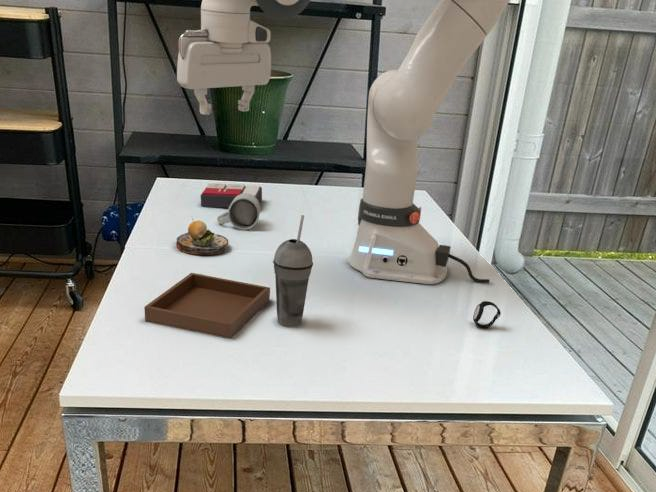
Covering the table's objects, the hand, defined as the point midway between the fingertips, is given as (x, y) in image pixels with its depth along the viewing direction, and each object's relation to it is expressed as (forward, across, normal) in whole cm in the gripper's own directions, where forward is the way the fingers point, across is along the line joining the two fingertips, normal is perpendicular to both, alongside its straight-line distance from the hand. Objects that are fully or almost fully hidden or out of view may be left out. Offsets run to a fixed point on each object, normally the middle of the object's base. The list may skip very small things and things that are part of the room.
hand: (224, 112), depth 147 cm
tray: (+31, -16, -16) cm, 39 cm away
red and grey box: (+31, +34, +38) cm, 60 cm away
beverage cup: (+31, -8, -29) cm, 43 cm away
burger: (+31, +5, +14) cm, 35 cm away
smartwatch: (+31, +22, -53) cm, 65 cm away
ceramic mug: (+31, +23, +22) cm, 45 cm away
